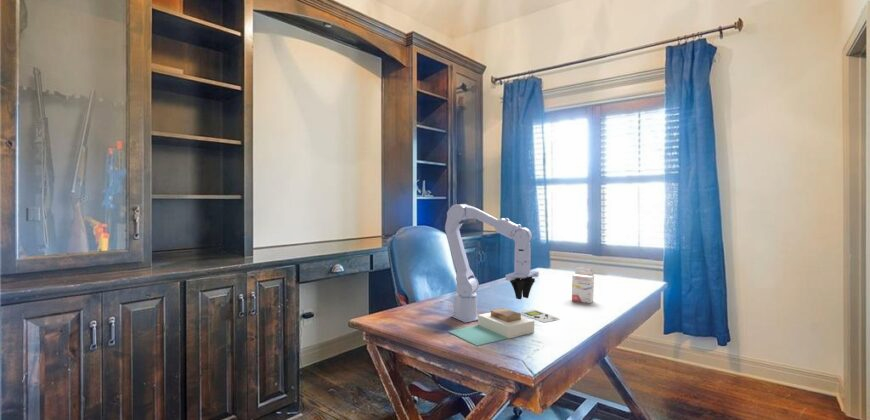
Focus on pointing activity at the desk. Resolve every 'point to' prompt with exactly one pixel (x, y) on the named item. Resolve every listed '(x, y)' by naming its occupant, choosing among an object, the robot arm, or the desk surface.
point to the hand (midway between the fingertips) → (522, 298)
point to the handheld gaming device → (539, 316)
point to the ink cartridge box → (583, 285)
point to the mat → (477, 335)
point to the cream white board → (506, 325)
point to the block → (505, 315)
